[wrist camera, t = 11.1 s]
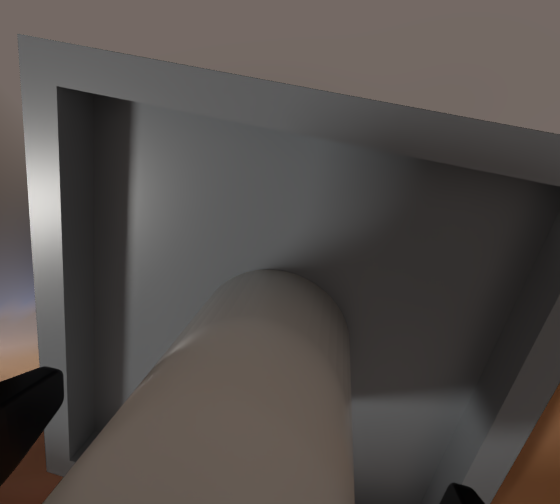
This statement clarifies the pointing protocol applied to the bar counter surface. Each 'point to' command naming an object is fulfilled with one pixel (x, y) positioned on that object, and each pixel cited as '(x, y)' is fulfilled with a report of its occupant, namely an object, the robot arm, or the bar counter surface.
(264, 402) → the ceramic cup
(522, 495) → the bar counter surface
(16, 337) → the bar counter surface
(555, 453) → the bar counter surface
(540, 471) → the bar counter surface
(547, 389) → the tray
